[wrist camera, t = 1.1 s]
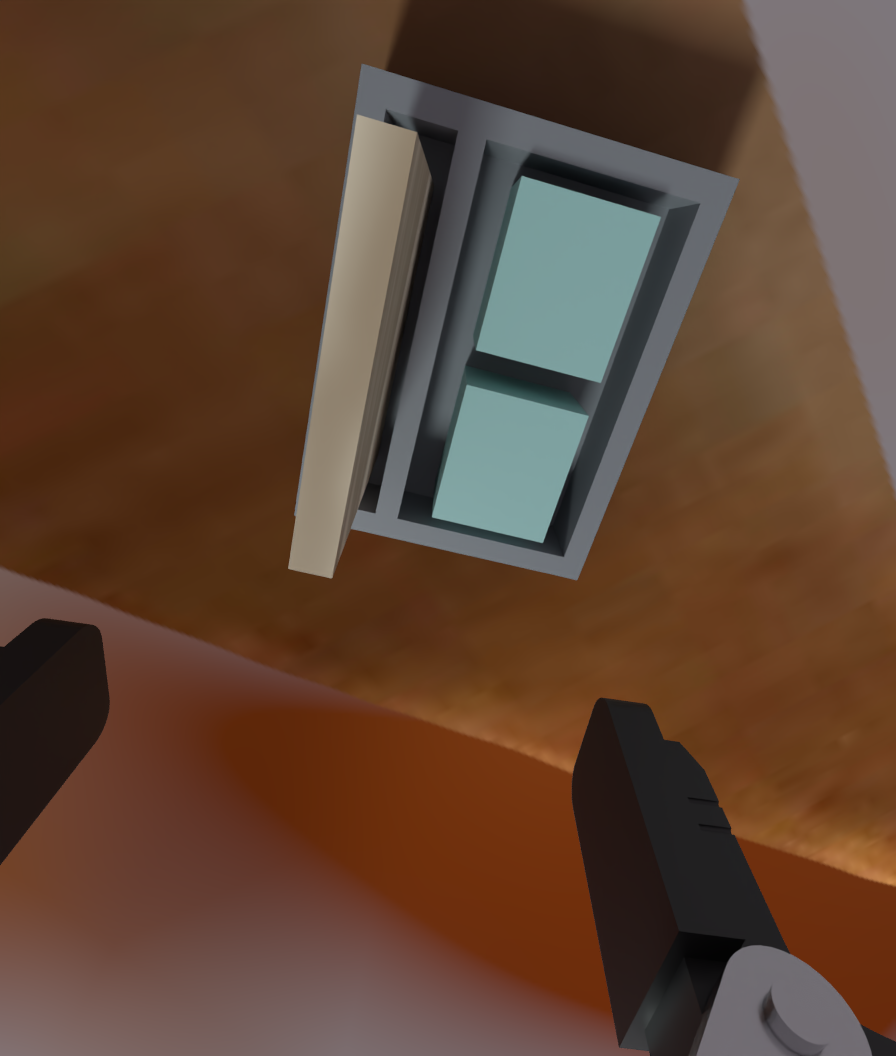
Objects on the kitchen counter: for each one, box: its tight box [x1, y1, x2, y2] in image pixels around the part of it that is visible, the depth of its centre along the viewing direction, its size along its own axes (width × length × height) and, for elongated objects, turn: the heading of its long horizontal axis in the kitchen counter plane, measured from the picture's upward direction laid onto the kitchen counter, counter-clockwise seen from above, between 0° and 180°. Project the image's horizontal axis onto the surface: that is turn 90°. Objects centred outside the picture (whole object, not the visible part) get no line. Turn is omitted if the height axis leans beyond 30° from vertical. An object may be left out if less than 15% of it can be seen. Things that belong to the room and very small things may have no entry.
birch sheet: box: [288, 114, 434, 578], centre depth 24 cm, size 2×14×14 cm, turn 166°
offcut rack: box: [294, 64, 740, 580], centre depth 30 cm, size 16×20×5 cm
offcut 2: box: [432, 365, 589, 543], centre depth 31 cm, size 6×7×5 cm
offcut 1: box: [473, 176, 661, 383], centre depth 27 cm, size 6×7×5 cm
